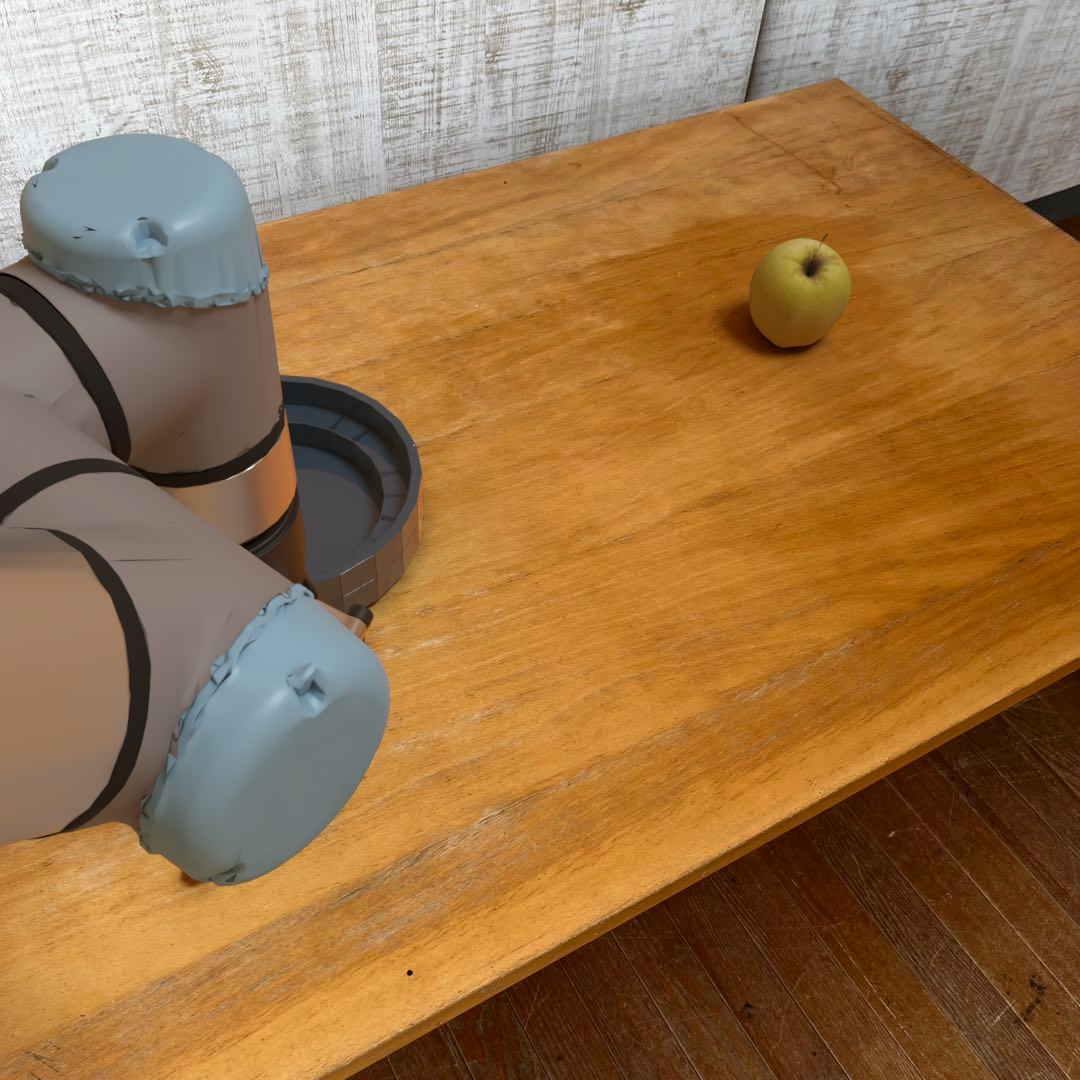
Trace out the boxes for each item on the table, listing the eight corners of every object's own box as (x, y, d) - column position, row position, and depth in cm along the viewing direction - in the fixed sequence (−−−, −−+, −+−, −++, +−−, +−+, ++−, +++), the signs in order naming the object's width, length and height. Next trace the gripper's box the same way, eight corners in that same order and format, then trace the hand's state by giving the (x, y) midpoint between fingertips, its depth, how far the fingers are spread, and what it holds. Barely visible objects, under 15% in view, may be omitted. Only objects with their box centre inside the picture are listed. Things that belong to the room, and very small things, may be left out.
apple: (748, 280, 102) (805, 193, 94) (825, 330, 101) (889, 247, 93) (714, 328, 97) (772, 241, 89) (795, 382, 96) (860, 298, 89)
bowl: (349, 682, 72) (343, 632, 69) (58, 593, 76) (38, 541, 72) (464, 467, 86) (464, 415, 82) (212, 399, 89) (202, 347, 85)
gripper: (-27, 503, 49) (102, 786, 67) (366, 617, 46) (394, 883, 63) (73, 393, 54) (169, 683, 71) (436, 490, 51) (444, 768, 68)
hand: (275, 777), depth 67 cm, fingers closed on stone tool, 5 cm apart
